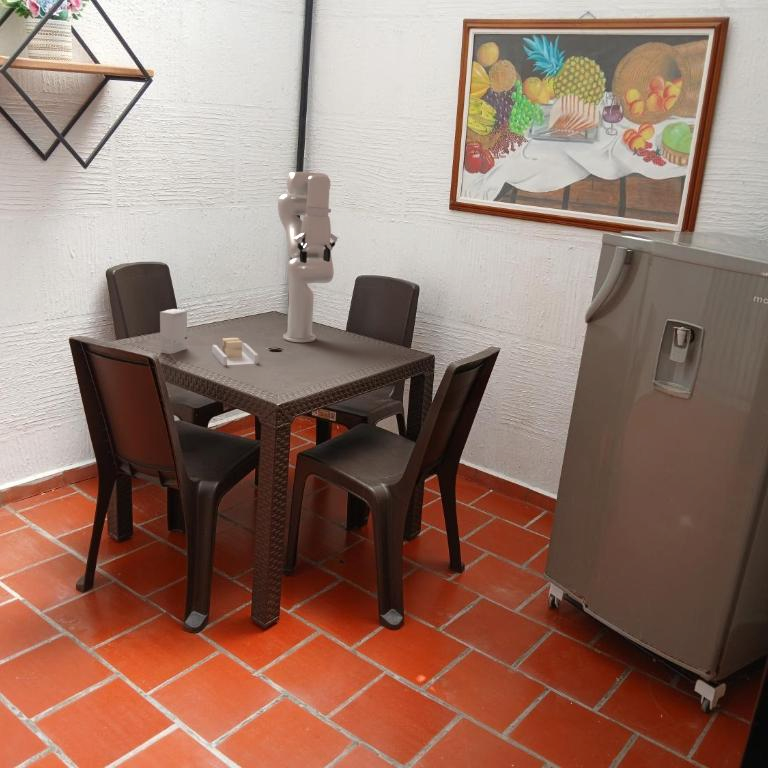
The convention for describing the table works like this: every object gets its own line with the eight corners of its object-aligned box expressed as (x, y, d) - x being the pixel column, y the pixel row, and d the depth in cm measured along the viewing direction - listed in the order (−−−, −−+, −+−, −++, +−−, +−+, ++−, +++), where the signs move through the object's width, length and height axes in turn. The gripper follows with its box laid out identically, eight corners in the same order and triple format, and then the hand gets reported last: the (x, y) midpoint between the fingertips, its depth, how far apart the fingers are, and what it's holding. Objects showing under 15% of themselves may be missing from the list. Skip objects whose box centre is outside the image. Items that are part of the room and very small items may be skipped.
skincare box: (173, 355, 281) (173, 314, 276) (159, 352, 283) (158, 311, 278) (188, 350, 288) (188, 309, 283) (174, 347, 290) (173, 307, 286)
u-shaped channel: (212, 355, 285) (212, 344, 284) (245, 353, 290) (245, 343, 289) (223, 367, 272) (223, 356, 271) (257, 365, 277) (258, 354, 276)
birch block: (222, 353, 285) (222, 338, 283) (237, 352, 287) (237, 337, 285) (226, 357, 280) (226, 342, 278) (241, 356, 283) (242, 341, 281)
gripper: (332, 210, 285) (329, 258, 290) (290, 211, 275) (288, 260, 280) (344, 213, 279) (341, 262, 285) (301, 213, 269) (299, 264, 274)
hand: (315, 261), depth 282 cm, fingers open, 9 cm apart
